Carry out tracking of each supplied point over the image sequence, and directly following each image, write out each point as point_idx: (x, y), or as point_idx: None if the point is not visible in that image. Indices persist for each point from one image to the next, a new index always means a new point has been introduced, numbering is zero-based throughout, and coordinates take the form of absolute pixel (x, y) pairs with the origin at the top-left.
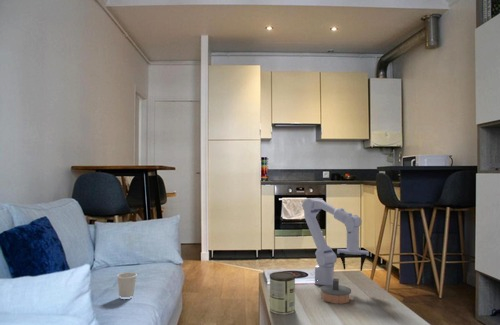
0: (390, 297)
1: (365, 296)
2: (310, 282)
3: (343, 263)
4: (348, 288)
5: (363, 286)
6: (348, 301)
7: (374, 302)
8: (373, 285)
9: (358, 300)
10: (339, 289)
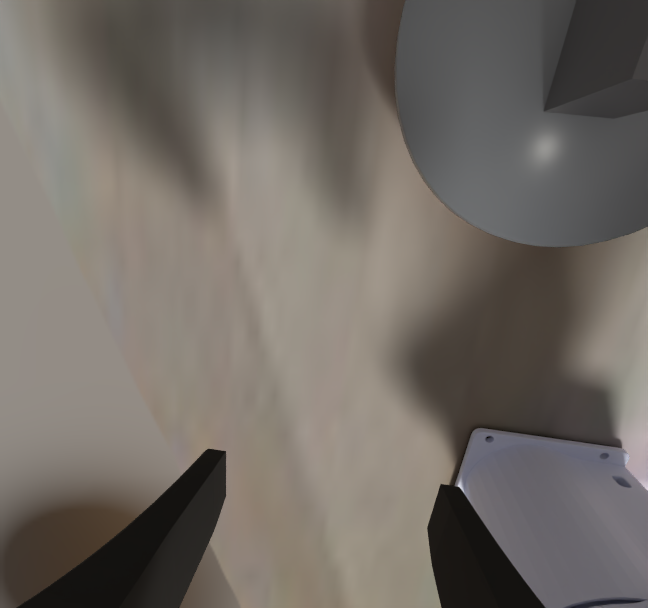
0: (70, 238)
1: (253, 222)
2: None
3: (510, 578)
4: (422, 113)
5: (256, 450)
6: None
7: (183, 58)
8: None
9: (320, 84)
10: (556, 28)
